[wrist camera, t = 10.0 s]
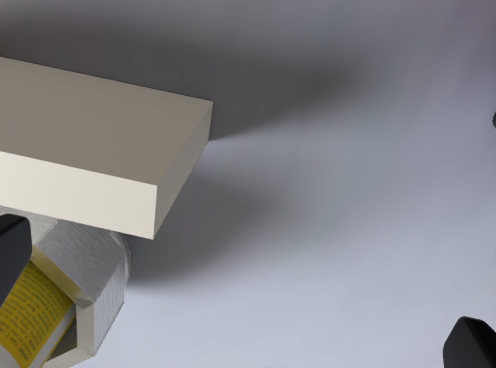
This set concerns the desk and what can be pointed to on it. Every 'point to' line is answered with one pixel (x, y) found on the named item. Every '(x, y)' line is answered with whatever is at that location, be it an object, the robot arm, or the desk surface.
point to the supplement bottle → (33, 320)
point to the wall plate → (95, 147)
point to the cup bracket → (80, 279)
